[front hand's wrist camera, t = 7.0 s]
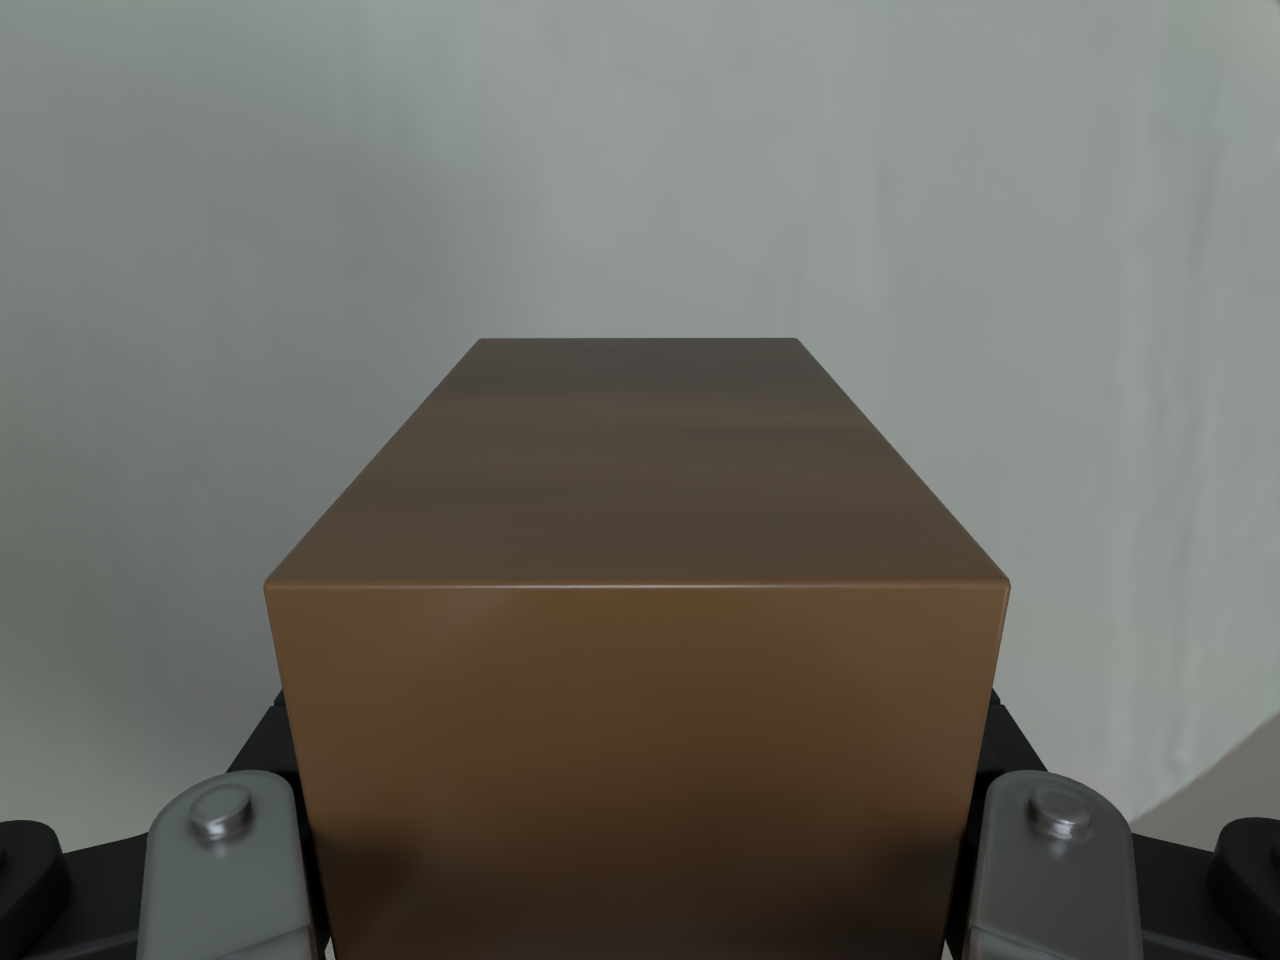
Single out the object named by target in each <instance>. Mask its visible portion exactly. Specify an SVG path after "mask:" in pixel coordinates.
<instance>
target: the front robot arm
mask: <svg viewBox="0 0 1280 960" xmlns="http://www.w3.org/2000/svg"><path fill="white" fill-rule="evenodd" d="M330 937H331V935H330V929H329V924H328V919H327V914H326V909H325V904H324V898H323V893H322V888H321V883H320V878H319V873H318V868H317V862H316V857H315V852H314V847H313V842H312V837H311V831H310V826H309V821H308V816H307V811H306V806H305V801H304V795H303V790H302V785H301V780H300V775H299V770H298V764H297V759H296V754H295V749H294V744H293V739H292V733H291V728H290V723H289V718H288V713H287V708H286V703H285V697H284V692H283V689H282V690H281V692H280V693H279V695H278V696H277V697H276V699H275V700H274V706H270V708H269V709H268V711H267V712H266V714H265V715H264V717H263V718H262V720H261V721H260V723H259V724H258V726H257V727H256V729H255V730H254V732H253V733H252V735H251V736H250V738H249V739H248V741H247V742H246V744H245V745H244V747H243V748H242V749H241V751H240V752H239V754H238V755H237V757H236V758H235V760H234V761H233V763H232V764H231V766H230V767H229V769H228V770H227V772H226V773H225V774H221V775H218V776H215V777H212V778H210V779H207V780H205V781H203V782H200V783H198V784H196V785H194V786H193V787H191V788H189V789H187V790H186V791H184V792H183V793H181V794H180V795H178V796H177V797H175V798H174V799H173V800H172V801H171V802H169V803H168V804H167V805H166V806H165V807H164V808H163V809H162V810H161V812H160V813H159V814H158V815H157V817H156V818H155V820H154V821H153V823H152V825H151V827H150V829H149V832H147V833H144V834H142V835H138V836H135V837H131V838H128V839H124V840H119V841H115V842H111V843H106V844H102V845H98V846H94V847H89V848H85V849H81V850H76V851H72V852H68V853H64V854H63V853H62V850H61V847H60V844H59V841H58V838H57V836H56V834H55V832H54V830H52V829H51V828H50V827H49V826H47V825H45V824H43V823H41V822H36V821H31V820H15V821H6V822H0V960H326V956H325V949H326V947H327V944H328V942H329V939H330ZM945 940H946V942H947V945H948V947H949V950H950V953H951V955H952V958H953V960H1280V820H1275V819H1270V818H1259V817H1252V818H1242V819H1237V820H1235V821H1232V822H1230V823H1228V824H1227V825H1226V826H1225V827H1224V828H1223V829H1222V831H1221V833H1220V835H1219V838H1218V841H1217V844H1216V847H1215V850H1214V852H1210V851H1206V850H1201V849H1197V848H1193V847H1188V846H1184V845H1180V844H1176V843H1171V842H1167V841H1163V840H1158V839H1154V838H1150V837H1146V836H1142V835H1138V834H1135V833H1131V829H1130V827H1129V825H1128V823H1127V821H1126V820H1125V818H1124V817H1123V815H1122V814H1121V813H1120V812H1119V811H1118V809H1117V808H1116V807H1115V806H1114V805H1113V804H1112V803H1110V802H1109V801H1108V800H1107V799H1106V798H1105V797H1103V796H1102V795H1100V794H1099V793H1097V792H1096V791H1094V790H1093V789H1091V788H1089V787H1087V786H1086V785H1084V784H1082V783H1080V782H1077V781H1075V780H1073V779H1070V778H1068V777H1065V776H1062V775H1059V774H1054V773H1050V772H1048V770H1047V769H1046V767H1045V766H1044V764H1043V763H1042V761H1041V760H1040V758H1039V757H1038V755H1037V754H1036V752H1035V751H1034V749H1033V748H1032V746H1031V745H1030V743H1029V742H1028V740H1027V739H1026V737H1025V736H1024V734H1023V733H1022V731H1021V730H1020V728H1019V727H1018V725H1017V724H1016V722H1015V721H1014V719H1013V718H1012V716H1011V715H1010V713H1009V712H1008V710H1007V709H1006V707H1005V706H1004V705H1001V704H1000V698H999V697H998V695H997V694H996V692H995V691H994V689H993V688H992V691H991V696H990V702H989V707H988V712H987V718H986V723H985V728H984V734H983V739H982V744H981V750H980V755H979V760H978V766H977V771H976V776H975V782H974V787H973V792H972V798H971V803H970V808H969V814H968V819H967V824H966V830H965V835H964V840H963V846H962V851H961V856H960V862H959V867H958V872H957V878H956V883H955V888H954V894H953V899H952V904H951V910H950V915H949V921H948V926H947V931H946V937H945Z"/></svg>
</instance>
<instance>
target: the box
mask: <svg viewBox="0 0 1280 960" xmlns="http://www.w3.org/2000/svg"><path fill="white" fill-rule="evenodd" d="M1010 590H1011V585H1010V581H1009V578H1008V577H1007V576H1006V575H1005V574H1004V573H1003V572H1002V570H1001V569H1000V568H999V567H998V566H997V565H996V564H995V563H994V561H993V560H992V559H991V558H990V557H989V556H988V555H987V553H986V552H985V551H984V550H983V549H982V548H981V547H980V545H979V544H978V543H977V542H976V541H975V540H974V539H973V538H972V536H971V535H970V534H969V533H968V532H967V531H966V530H965V528H964V527H963V526H962V525H961V524H960V523H959V522H958V520H957V519H956V518H955V517H954V516H953V515H952V514H951V513H950V511H949V510H948V509H947V508H946V507H945V506H944V505H943V503H942V502H941V501H940V500H939V499H938V498H937V497H936V496H935V494H934V493H933V492H932V491H931V490H930V489H929V488H928V486H927V485H926V484H925V483H924V482H923V481H922V480H921V478H920V477H919V476H918V475H917V474H916V473H915V472H914V471H913V469H912V468H911V467H910V466H909V465H908V464H907V463H906V461H905V460H904V459H903V458H902V457H901V456H900V455H899V453H898V452H897V451H896V450H895V449H894V448H893V447H892V446H891V444H890V443H889V442H888V441H887V440H886V439H885V438H884V436H883V435H882V434H881V433H880V432H879V431H878V430H877V428H876V427H875V426H874V425H873V424H872V423H871V422H870V421H869V419H868V418H867V417H866V416H865V415H864V414H863V413H862V411H861V410H860V409H859V408H858V407H857V406H856V405H855V404H854V402H853V401H852V400H851V399H850V398H849V397H848V396H847V394H846V393H845V392H844V391H843V390H842V389H841V388H840V386H839V385H838V384H837V383H836V382H835V381H834V380H833V379H832V377H831V376H830V375H829V374H828V373H827V372H826V371H825V369H824V368H823V367H822V366H821V365H820V364H819V363H818V361H817V360H816V359H815V358H814V357H813V356H812V355H811V354H810V352H809V351H808V350H807V349H806V348H805V347H804V346H803V344H802V343H801V342H800V341H799V340H798V339H796V338H486V339H479V340H478V341H477V342H476V343H475V344H474V345H473V347H472V348H471V349H470V350H469V351H468V352H467V353H466V354H465V356H464V357H463V358H462V359H461V360H460V361H459V362H458V363H457V365H456V366H455V367H454V368H453V369H452V370H451V371H450V373H449V374H448V375H447V376H446V377H445V378H444V379H443V380H442V382H441V383H440V384H439V385H438V386H437V387H436V388H435V389H434V391H433V392H432V393H431V394H430V395H429V396H428V397H427V398H426V400H425V401H424V402H423V403H422V404H421V405H420V406H419V408H418V409H417V410H416V411H415V412H414V413H413V414H412V415H411V417H410V418H409V419H408V420H407V421H406V422H405V423H404V424H403V426H402V427H401V428H400V429H399V430H398V431H397V432H396V434H395V435H394V436H393V437H392V438H391V439H390V440H389V441H388V443H387V444H386V445H385V446H384V447H383V448H382V449H381V450H380V452H379V453H378V454H377V455H376V456H375V457H374V458H373V459H372V461H371V462H370V463H369V464H368V465H367V466H366V467H365V469H364V470H363V471H362V472H361V473H360V474H359V475H358V476H357V478H356V479H355V480H354V481H353V482H352V483H351V484H350V485H349V487H348V488H347V489H346V490H345V491H344V492H343V493H342V494H341V496H340V497H339V498H338V499H337V500H336V501H335V502H334V504H333V505H332V506H331V507H330V508H329V509H328V510H327V511H326V513H325V514H324V515H323V516H322V517H321V518H320V519H319V520H318V522H317V523H316V524H315V525H314V526H313V527H312V528H311V530H310V531H309V532H308V533H307V534H306V535H305V536H304V537H303V539H302V540H301V541H300V542H299V543H298V544H297V545H296V546H295V548H294V549H293V550H292V551H291V552H290V553H289V554H288V555H287V557H286V558H285V559H284V560H283V561H282V562H281V563H280V565H279V566H278V567H277V568H276V569H275V570H274V571H273V572H272V574H271V575H270V576H269V577H268V578H267V579H266V580H265V584H264V594H265V599H266V605H267V610H268V615H269V620H270V625H271V630H272V636H273V641H274V646H275V651H276V656H277V661H278V666H279V672H280V677H281V682H282V687H283V692H284V697H285V703H286V708H287V713H288V718H289V723H290V728H291V733H292V739H293V744H294V749H295V754H296V759H297V764H298V770H299V775H300V780H301V785H302V790H303V795H304V801H305V806H306V811H307V816H308V821H309V826H310V831H311V837H312V842H313V847H314V852H315V857H316V862H317V868H318V873H319V878H320V883H321V888H322V893H323V898H324V904H325V909H326V914H327V919H328V924H329V929H330V935H331V940H332V945H333V950H334V955H335V960H941V958H942V952H943V947H944V942H945V937H946V931H947V926H948V921H949V915H950V910H951V904H952V899H953V894H954V888H955V883H956V878H957V872H958V867H959V862H960V856H961V851H962V846H963V840H964V835H965V830H966V824H967V819H968V814H969V808H970V803H971V798H972V792H973V787H974V782H975V776H976V771H977V766H978V760H979V755H980V750H981V744H982V739H983V734H984V728H985V723H986V718H987V712H988V707H989V702H990V696H991V691H992V686H993V680H994V675H995V670H996V664H997V659H998V654H999V648H1000V643H1001V638H1002V632H1003V627H1004V622H1005V616H1006V611H1007V606H1008V600H1009V595H1010Z"/></svg>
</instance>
